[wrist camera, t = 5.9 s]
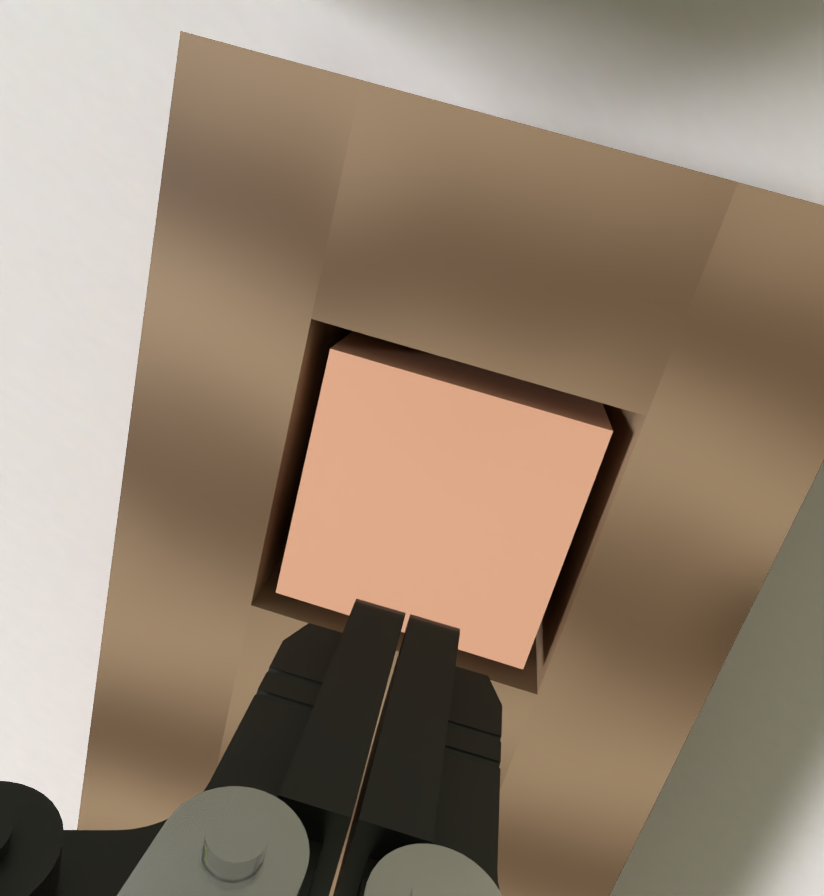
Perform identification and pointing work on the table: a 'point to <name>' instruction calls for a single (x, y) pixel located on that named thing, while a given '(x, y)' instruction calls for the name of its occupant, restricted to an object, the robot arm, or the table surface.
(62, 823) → the robot arm
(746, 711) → the table surface
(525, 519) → the terracotta key
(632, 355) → the block
